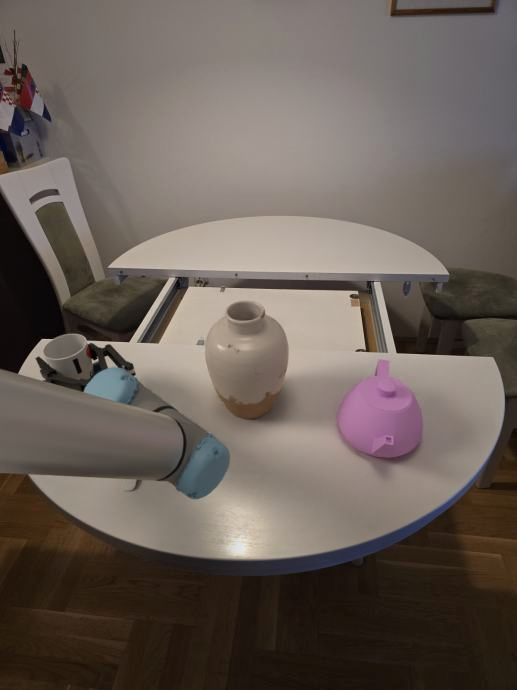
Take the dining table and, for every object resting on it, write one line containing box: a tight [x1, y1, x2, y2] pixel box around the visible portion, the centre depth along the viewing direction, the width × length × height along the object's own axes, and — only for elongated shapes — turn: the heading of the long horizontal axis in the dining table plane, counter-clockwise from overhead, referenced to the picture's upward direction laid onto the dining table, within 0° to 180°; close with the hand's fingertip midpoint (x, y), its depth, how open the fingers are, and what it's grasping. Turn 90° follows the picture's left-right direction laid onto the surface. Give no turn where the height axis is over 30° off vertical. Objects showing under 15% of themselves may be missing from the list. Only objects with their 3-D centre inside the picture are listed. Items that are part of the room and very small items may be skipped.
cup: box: [41, 333, 93, 380], centre depth 81 cm, size 8×8×10 cm
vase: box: [204, 300, 290, 420], centre depth 78 cm, size 16×16×23 cm
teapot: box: [336, 358, 424, 459], centre depth 74 cm, size 22×16×12 cm
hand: (59, 352), depth 83 cm, fingers closed on cup, 8 cm apart
